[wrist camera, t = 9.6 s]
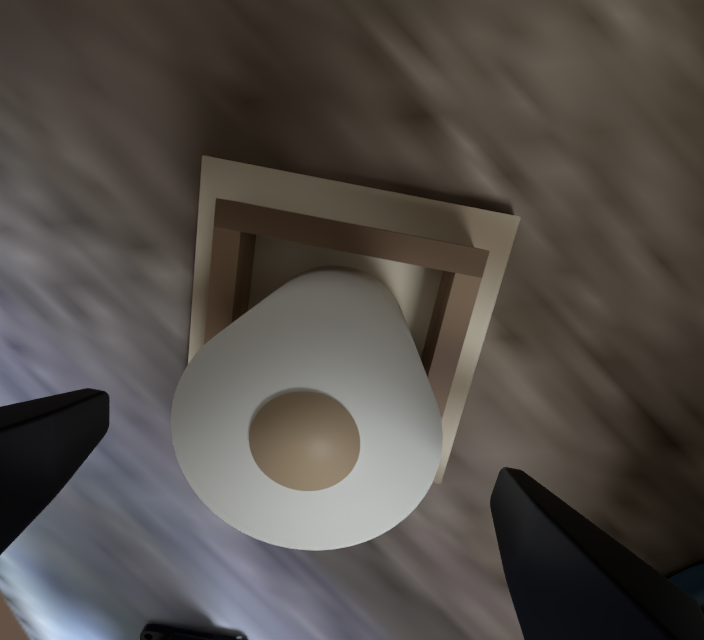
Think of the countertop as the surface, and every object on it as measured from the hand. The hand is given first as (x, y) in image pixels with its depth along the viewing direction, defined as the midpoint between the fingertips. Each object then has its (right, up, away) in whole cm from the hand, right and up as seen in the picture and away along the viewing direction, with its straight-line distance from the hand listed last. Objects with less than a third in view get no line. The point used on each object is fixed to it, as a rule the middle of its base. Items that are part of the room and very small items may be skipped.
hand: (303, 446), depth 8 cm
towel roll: (0, +2, +8) cm, 8 cm away
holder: (0, +2, +9) cm, 9 cm away
